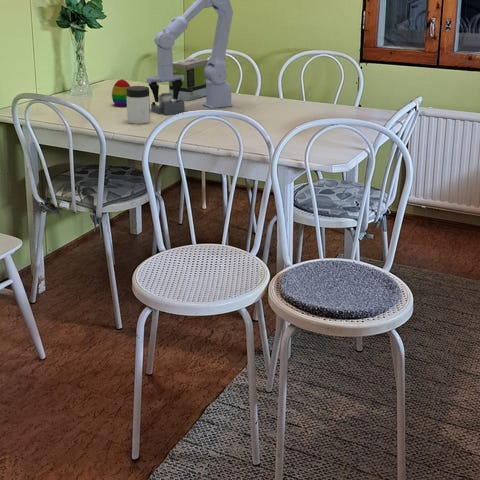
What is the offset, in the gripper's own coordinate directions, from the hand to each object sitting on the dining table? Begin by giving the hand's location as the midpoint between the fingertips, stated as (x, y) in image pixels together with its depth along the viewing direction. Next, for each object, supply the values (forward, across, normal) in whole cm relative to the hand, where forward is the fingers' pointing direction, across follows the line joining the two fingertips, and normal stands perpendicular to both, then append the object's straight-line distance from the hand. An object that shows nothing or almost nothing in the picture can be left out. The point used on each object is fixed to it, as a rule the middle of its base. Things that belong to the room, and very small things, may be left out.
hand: (166, 100), depth 304 cm
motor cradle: (+3, 0, +3) cm, 4 cm away
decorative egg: (+4, +12, -15) cm, 20 cm away
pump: (+3, 0, 0) cm, 4 cm away
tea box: (+4, -18, -18) cm, 26 cm away
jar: (+4, +16, +13) cm, 21 cm away
